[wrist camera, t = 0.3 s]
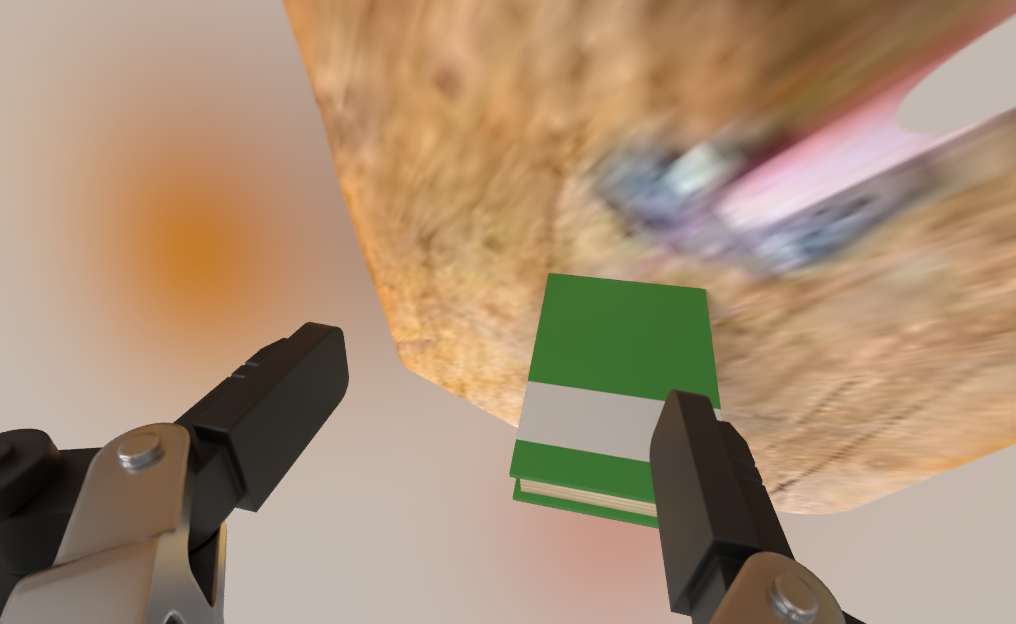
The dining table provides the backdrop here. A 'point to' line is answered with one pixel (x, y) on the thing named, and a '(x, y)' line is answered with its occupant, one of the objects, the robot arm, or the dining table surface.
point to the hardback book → (607, 392)
